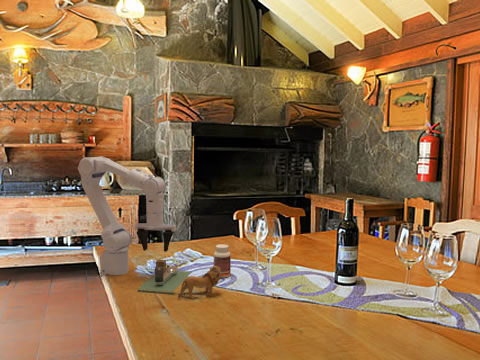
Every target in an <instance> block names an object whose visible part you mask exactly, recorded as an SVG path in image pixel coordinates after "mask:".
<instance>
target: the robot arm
mask: <svg viewBox="0 0 480 360" xmlns="http://www.w3.org/2000/svg"><path fill="white" fill-rule="evenodd" d="M77 170H78V172H79V175H80V180H81V186H82V189H83V191H84V192H85V194H86V196H87V198H88V201H89V203H90V205H91V206H92V209H93V210H94V213H95V215H96V216H97V218H98V221H99V223H100V226H101V227H102V229H103V230H102V232H101V235H100V237H101V239H102V245H103V248H104V250H102V252H101V254H100V260H99V261H100V262H99V264H100V265H99V266H100V268H99V269H100V274H99V277H100V278H102V277H104V276H106V275H109V276H122V275H125V274H128V273H129V271H130V269H129V265H130V264H129V249H130V245H131V244H132V242H133V236H132V234H131V233H130V231H129V230H127V229H126V227H125V226H124V225H123V224H122V223H120V222H118V220H117V218H116V216H115V214H114V211H113V210H112V208H111V206H110V204H109V202H108V200H107V197H106V196H105V193H104V191H103V190H102V188H101V185H100V183H101V180H102V179H103V178H104V176H105V175H106V173H107V172H108V173H111V174H113V175H116V176H119V177H121V178H124V179H126V182H127V183H128V184H129V185H131V186H133V187H136V188H138V189H140V190H142V191H143V192H144V193H143V194H145V199H146V201H145V202H146V222H145V223H144V222H143V223H139V222H138V223H137V222H136V223H135V224H134V231H136V235H137V236H138V239H139V240H140V243H141V246H142V250H143V252H144V251H146V250H148V246H149V245H148V237H149V236H148V234H149V231H163V232H162V239H163V252H164V253H166V252H168V250H169V248H170V242H171V239H172V237H173V235H174V233H175V232H176V231H177V225H176V224H169V223H164V191H165V190H166V187H167V183H166V181H165V179H163V178H162V177H161V176H155V177H154V176H153V174H151V173H149V174H148V173H146V172H145V171H142V168H133V169H129V168H127V167H125V166H123V165H122V164H119V163H118V162H116V161H113V160H112V159H111V158H109V157H108V158H107V157H105V156H103V155H101V156H100V155H99V156H95V157H94V156H93V157H89V156H88V157H87V156H86V157H83V158H81V159H80V161H79V164H78V166H77Z"/></svg>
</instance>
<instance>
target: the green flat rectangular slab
mask: <svg viewBox="0 0 480 360" xmlns="http://www.w3.org/2000/svg"><path fill="white" fill-rule="evenodd" d="M164 273H165V272H164ZM164 273H163V274H164ZM191 274H192V271H187V270H177V274H176V275H173V276H172V277H171V278H170V279H169V280H168V281H167V282H166V283H165V284H163V285H156V282H155V274H154V275H153V276H150V278H149V279H147V281H145V282H144V283H143V284H142V285H141V286H139V287H138V288H137V293H144V294H145V293H146V294H158V295H160V294H161V295H169V296H170V295H171V296H173V295H174V294H175V290H176V289H177V288H178V287H180V286H181V285H182V283H183V281H184V279H185V278H187V277H189V276H191Z"/></svg>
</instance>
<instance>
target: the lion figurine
mask: <svg viewBox="0 0 480 360" xmlns="http://www.w3.org/2000/svg"><path fill="white" fill-rule="evenodd" d="M220 277H221V271H220V267H217V266H214V265H213V266H211V267H209V270H208V271H207V272H206V273H204V275H201V276H195V275H194V276H193V275H189V276H188V277H187V278H185V279H184V281H183V282H182V283H181V288H180V292H179V295H178V296H177V299H180V298H181V297H185V296H186V294H185V293H184V292H185V291H186V290H188V293H187V294H188V296H189V297H190V299H192V300H195V299H196V297H195V296H194V295H193V294H192V293H193V290H194V287H195V288H197V289H205V290H204V291H205V292H206V293H205V294H206V295H209V297H211V298H212V297H214V294H213V290H214V289H213V287H214V286H215V287H216V286H217V285H218V284H219V281H220V280H221V278H220Z"/></svg>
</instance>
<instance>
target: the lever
mask: <svg viewBox="0 0 480 360" xmlns="http://www.w3.org/2000/svg"><path fill="white" fill-rule="evenodd" d="M178 268H179V267H178V266H176V265H171V267H170V266H169V267H166V269H165V273H164V274H163V267H156V266H155V267H154V275H155V282H156V285H163V284H165V283H166V282H167V281H168V280H169V279H170V278H171V277H172V276H173V275H176V274H177V271H179V269H178Z"/></svg>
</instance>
